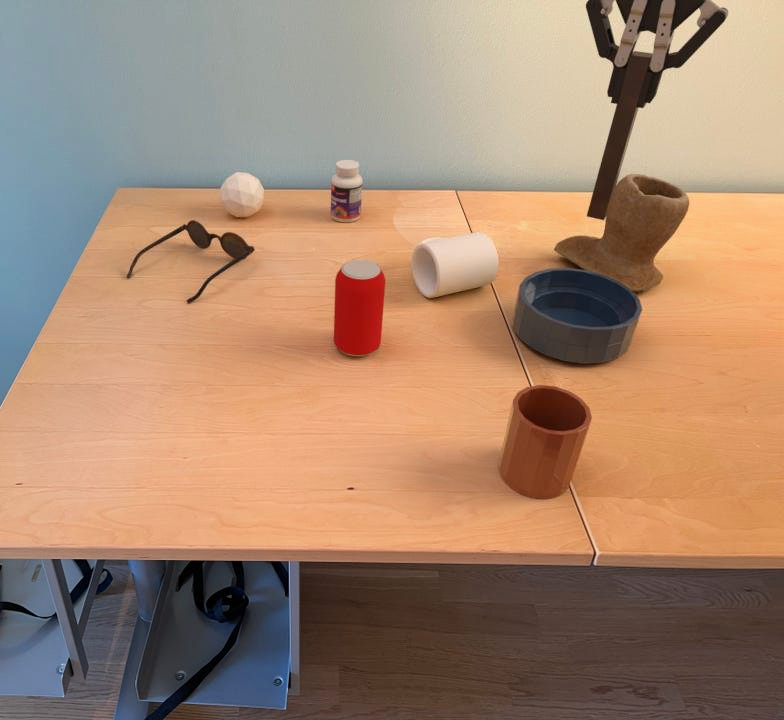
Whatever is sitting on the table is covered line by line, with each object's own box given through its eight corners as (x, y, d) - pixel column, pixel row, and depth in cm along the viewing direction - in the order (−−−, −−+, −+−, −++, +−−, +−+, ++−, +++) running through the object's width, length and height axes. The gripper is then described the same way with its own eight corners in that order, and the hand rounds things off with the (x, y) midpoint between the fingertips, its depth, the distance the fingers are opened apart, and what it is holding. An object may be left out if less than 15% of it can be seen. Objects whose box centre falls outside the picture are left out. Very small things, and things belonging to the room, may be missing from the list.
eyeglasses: (255, 264, 111) (254, 236, 108) (193, 306, 101) (189, 276, 98) (186, 240, 117) (183, 213, 114) (121, 277, 107) (116, 248, 104)
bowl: (639, 324, 97) (652, 287, 93) (613, 382, 86) (627, 343, 83) (531, 294, 103) (539, 258, 100) (495, 344, 93) (503, 306, 89)
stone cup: (680, 284, 105) (715, 190, 96) (624, 303, 101) (655, 207, 92) (602, 243, 116) (627, 155, 107) (549, 259, 112) (570, 169, 103)
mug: (494, 294, 103) (503, 246, 98) (435, 308, 100) (442, 259, 95) (451, 258, 112) (457, 212, 107) (396, 270, 109) (400, 223, 104)
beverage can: (385, 358, 91) (392, 277, 83) (339, 363, 90) (342, 283, 82) (372, 331, 95) (378, 253, 88) (328, 337, 94) (330, 258, 87)
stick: (607, 214, 83) (654, 53, 72) (603, 220, 81) (650, 57, 71) (590, 210, 84) (634, 50, 73) (586, 216, 82) (630, 55, 71)
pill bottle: (324, 215, 125) (325, 163, 119) (346, 207, 128) (348, 155, 122) (344, 226, 121) (346, 172, 116) (366, 217, 124) (369, 164, 118)
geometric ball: (244, 223, 129) (254, 181, 128) (265, 223, 122) (277, 179, 122) (207, 210, 124) (218, 166, 124) (228, 210, 118) (239, 164, 117)
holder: (578, 464, 75) (599, 400, 70) (558, 509, 70) (579, 444, 65) (511, 439, 78) (526, 376, 73) (488, 480, 73) (502, 416, 68)
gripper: (595, -89, 65) (554, 102, 75) (763, -80, 59) (693, 125, 69) (613, -95, 70) (572, 85, 80) (769, -87, 64) (703, 105, 74)
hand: (628, 103), depth 75 cm, fingers closed on stick, 2 cm apart
